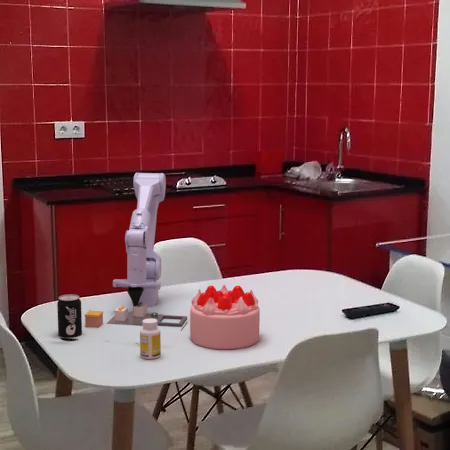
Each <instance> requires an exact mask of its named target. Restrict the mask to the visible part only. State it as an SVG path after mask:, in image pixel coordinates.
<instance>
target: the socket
mask: <svg viewBox="0 0 450 450" xmlns="http://www.w3.org/2000/svg"><path fill="white" fill-rule="evenodd" d="M165 319H166V320H180V321H178V322H167V321H166V322H165V321H163V320H165ZM187 320H188V316H187V315H173V314H172V315H168V314H162V315H161V316H160V317H159V318H158V319H157V321H158V326H157V327H172V328H173V327H174V328H181V330H180V332H182V330H183V329H184V328H185V326H186V325H187V324H188V321H187Z"/></svg>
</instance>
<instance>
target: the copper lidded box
mask: <svg viewBox="0 0 450 450" xmlns="http://www.w3.org/2000/svg"><path fill="white" fill-rule="evenodd" d="M103 317H104V311H103V310H88V311H87V312H86V313H84V320H85V321H84V326H85V328H96V329H98V328H100V327H101V326H102V325H103V324H104V319H103Z"/></svg>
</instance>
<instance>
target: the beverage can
mask: <svg viewBox="0 0 450 450" xmlns="http://www.w3.org/2000/svg"><path fill="white" fill-rule="evenodd" d="M56 306H57V307H56V308H57V328H58V329H57V332H58V333H57V335H58V337H59V339H60V340H61V341H64V342H74V341H77V340H79V338H77V337H80V336H82V335H83V327H82V325H83V323H82V321H83V320H82V319H83V318H82V300H81V299H80V296H79V295H78V294H72V293H71V294H63V295H60V296H58V301H57V304H56Z"/></svg>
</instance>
